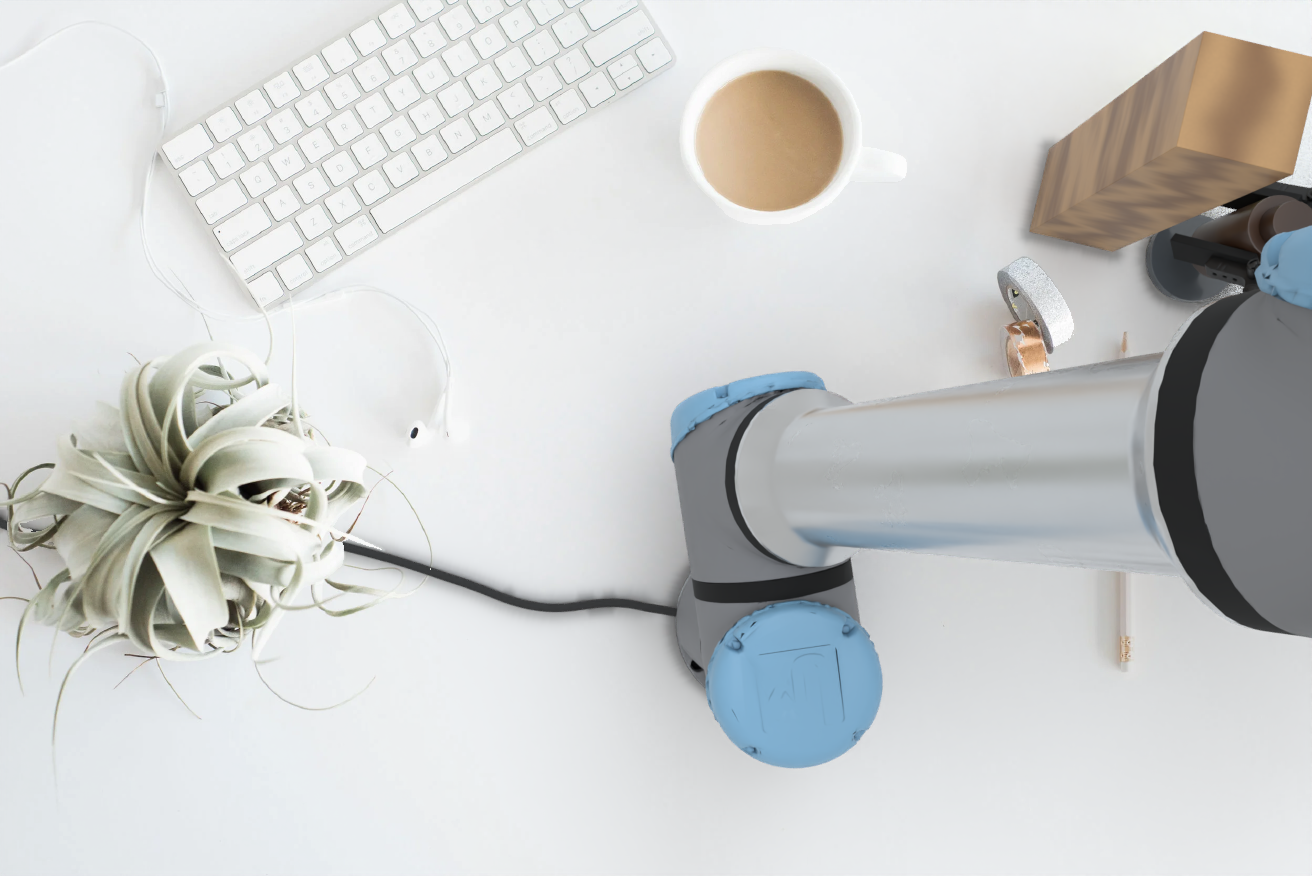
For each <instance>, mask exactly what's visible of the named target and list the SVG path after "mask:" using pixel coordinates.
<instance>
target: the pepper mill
mask: <svg viewBox="0 0 1312 876" xmlns="http://www.w3.org/2000/svg"><path fill="white" fill-rule="evenodd" d="M1213 219H1214V220H1211V221H1209V222H1207V223H1204V224H1203V225H1201V226H1200V227H1198V228H1197V229H1196V231H1195V232H1194V233H1193V235H1192V236H1191V237H1193V238H1197V239H1201V240H1205V241H1210V242H1214V243H1218V244H1222V245H1226V246H1230V247H1234V248H1238V249H1242V250H1246V251H1250V252H1254V253H1257V256H1258V261H1259V264H1261V253H1262V250H1263V247H1264V246H1265V244H1266V243H1267V242H1268V241H1269V240H1270V239H1271V238H1272V237H1273V236H1275V235H1277V234H1280V233H1283V232H1291V231H1295V230H1299V229H1302V228H1305V227H1308V226H1312V209H1311V208H1310V207H1309V206H1308V205H1307V204H1305V203H1303V202H1300V201H1298V200H1296V199H1294V198H1292V197H1289V196H1284V195H1275V196H1270V197H1267V198H1265V199H1262V200H1260V201H1258V202H1255V203H1253V204H1250V205H1248V206H1245V207H1243V208H1241V209H1238V210H1233V211H1230V212H1228V213H1226V214H1223V215H1221V216H1218V217H1217V218H1213ZM1192 265H1193V266H1194V268H1195V269H1196V270H1197V271H1198V272H1199V273H1201V274H1202V275H1204V276H1206V277H1209V276H1208V275H1207V274H1206V269H1205V267H1203V266H1199V265H1196V264H1192ZM1209 278H1211V277H1209ZM1213 279H1214V278H1213Z"/></svg>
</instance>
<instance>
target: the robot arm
mask: <svg viewBox="0 0 1312 876" xmlns="http://www.w3.org/2000/svg"><path fill="white" fill-rule="evenodd" d="M1275 195H1284V196H1289V197H1292V198H1294V199H1296V200H1298V201H1300V202H1303V203H1305V204H1307V205H1308V206H1309V207H1310V208H1311V209H1312V187H1308V186H1301V185H1296V184H1291V183H1286V182H1284V183H1283V182H1280V181H1277V182H1275V183H1272V184H1270V185H1268V186H1265V187H1263V188H1261V189H1258V190H1256V191H1254V192H1251V193H1249V194H1247V195H1244V196H1242V197H1240V198H1237V199H1235V200H1233V201H1230V202H1228V203H1226V204H1223V205H1221V206H1220V207H1221V208H1227V209H1231V210H1234V211H1236V210H1238V209H1241V208H1243V207H1245V206H1248V205H1250V204H1253V203H1255V202H1258V201H1260V200H1262V199H1265V198H1267V197H1270V196H1275ZM1170 242H1171V247H1172V251H1173V256H1174V259H1177V260H1181V261H1184V262H1188V263H1192V264H1196V265H1199V266H1203V267H1205V269H1206V274H1207V275H1208V276H1209V277H1211V278H1214V279H1217V280H1218V279H1219V280H1221V281H1225V282H1228V283H1229V284H1232V285H1236V286H1239V287H1242V290H1241V292H1240V293H1235V294H1229V295H1226V296H1223V297H1221V298H1217V299H1216V300H1214V301H1211V302H1209V303H1207V304H1206V305H1204V306H1202V307H1200V308H1199V309H1197V310H1196V311H1195V312H1194V313H1193V314H1191V315H1190V316H1189V317H1188V318H1187V319H1186V320H1185V321H1184V322H1183V323H1182V325H1181V326H1180V327H1179V329H1178V330H1177V331H1175V334H1174V335H1173V336H1172V338H1171V339H1170V341H1169V342H1168V345H1167V347H1166V348H1165V350H1164V351H1163V350H1162V351H1158V352H1153V353H1146V354H1141V355H1135V356H1129V357H1123V358H1118V359H1111V360H1105V361H1099V362H1094V363H1088V364H1083V365H1076V366H1071V367H1065V368H1059V369H1052V370H1047V371H1041V372H1034V373H1029V374H1024V375H1017V376H1012V377H1006V378H999V379H994V380H987V381H982V382H976V383H969V384H964V385H958V386H953V387H946V388H940V389H934V390H928V391H922V392H917V393H911V394H906V395H898V396H893V397H892V396H891V397H885V398H881V399H876V400H869V401H864V402H857V403H853V402H852V401H851V400H849V399H848V398H846V397H844V396H842V395H840V394H838V393H836V392H832V391H829V390H828V389H827V388H826V385H825V381H824V380H823V379H822V377H820V376H818V374H816V373H815V372H811V371H807V370H806V371H804V370H792V371H791V370H790V371H781V372H780V371H779V372H773V373H765V374H761V375H755V376H751V377H746V378H741V379H737V380H734V381H731V382H729V383H728V384H727V383H726V384H723V385H720V386H719V385H718V386H713V387H709V388H707V389H704V390H701V391H699V392H697V393H695V394H693V395H691V396H689V397H687V398H686V399H684V400H682V401H681V402H680V403H679V404H677V405H676V407H675V408H674V410H673V412H672V414H671V417H670V420H669V421H670V422H669V424H670V425H669V426H670V439H671V446H670V450H669V452H670V453H669V454H670V459H671V462H672V463H673V466H674V472H675V473H674V474H675V478H676V486H677V492H678V500H679V505H680V512H681V513H680V514H681V518H682V519H681V520H682V523H683V524H682V525H683V531H684V538H685V545H686V551H687V552H686V553H687V559H688V564H689V571H690V573H689V574H688V576H687V578H686V580H685V581H684V583H683V585H682V588H681V590H680V592H679V596H678V598H677V603H676V607H674V606H673V607H672V606H669V605H668V606H667V605H660V604H654V603H648V602H644V601H639V600H635V599H629V598H626V599H625V598H598V599H590V600H582V601H573V602H565V603H564V602H562V603H561V602H560V603H559V602H558V603H550V602H549V603H547V602H538V601H533V600H529V599H528V600H527V599H523V598H519V597H516V596H512V595H509V594H507V593H504V592H502V591H499V590H496V589H494V588H492V587H489V586H486V585H484V584H481V583H478V582H476V581H473V580H470V579H468V578H464V577H462V576H459V575H455V574H452V573H450V572H447V571H445V570H441V569H437V568H434V567H431V566H429V565H426V564H423V563H420V562H416V561H413V560H410V559H407V558H404V557H401V556H397V555H395V554H391V553H387V552H384V551H380V550H376V549H373V548H369V547H364V546H362V545H358V544H353V543H349V542H345V541H342V542H343V545H344V551H343V552H347V553H350V554H354V555H357V556H362V557H366V558H370V559H373V560H377V561H381V562H385V563H388V564H392V565H395V566H398V567H402V568H405V569H408V570H411V571H413V572H417V573H419V574H423V575H426V576H429V577H432V578H435V579H437V580H439V581H443V582H447V583H449V584H453V585H456V586H459V587H462V588H464V589H467V590H471V591H473V592H476V593H479V594H481V595H483V596H486V597H488V598H490V599H494V600H496V601H498V602H500V603H504V604H506V605H509V606H514V607H517V608H521V609H525V610H529V611H535V612H544V613H566V612H567V613H568V612H569V613H570V612H576V611H585V610H592V609H593V610H594V609H603V608H623V609H631V610H636V611H642V612H647V613H652V614H657V615H663V616H670V617H674V618H675V633H676V634H675V635H676V640H677V644H678V647H679V652H680V655H681V657H682V659H683V661H684V663H685V665H686V667H687V670H688V671H689V672H690V673H691V675H692V676H693V677H694V679H696V681H697V683H699V684H700V685H701V686H702V687H703V688H704V689H705V692H706V694H705V695H706V700H707V704H708V707H709V709H710V711H711V712H712V714H713V717H714V720H715V721H716V722H717V723H718V724H719V726H720V727H719V728H721V729H722V731H723V733H724V734H725V736H726V737H727V738H728V739H729V740H730V741H731V743H732V744H733V745H734V746H736V747H737V748H738V749H739V751H742V752H743V753H745V754H746V755H747V756H749V757H751V758H752V759H754V760H756V761H758V762H761V763H762V764H766V765H769V766H771V767H776V768H777V767H778V768H783V769H805V768H811V767H816V766H820V765H823V764H826V763H829V762H831V761H833V760H835V759H837V758H839V757H841V756H842V755H844V754H845V753H847V752H849V751H850V750H851V749H852V748H853V747H855V746H856V745H857V744H858V742H859V741H860V740H861V738H862V737H863V735H864V734H865V733H866V731H868V730H869V729H870V728H871V726H872V725H873V723H874V721H875V719H876V717H877V714H878V711H879V708H880V705H881V702H882V697H883V687H884V685H883V684H884V683H883V671H882V665H881V662H880V658H879V654H878V652H877V651H876V648H875V642H874V641H872V640H871V635H870V634H869V632H868V631H867V630H866V628H865V627H864V626H862V625H861V618H860V610H859V604H858V597H857V591H856V583H855V577H854V571H853V565H852V556H854V555H855V554H857V553H858V552H860V551H861V550H862V549H864V550H874V551H875V550H876V551H886V552H898V553H899V552H900V553H909V554H919V555H929V556H942V557H952V558H964V559H973V560H985V561H995V562H996V561H998V562H1006V563H1007V562H1009V563H1019V564H1020V563H1021V564H1030V565H1031V564H1032V565H1041V566H1052V567H1061V568H1063V567H1064V568H1075V569H1087V570H1096V571H1108V572H1118V573H1130V574H1140V575H1141V574H1143V575H1151V576H1152V575H1154V576H1162V577H1163V576H1164V577H1173V578H1175V577H1176V578H1181V579H1182V580H1183V582H1184V583H1185V584H1186V586H1187V587H1188V589H1189V591H1191V592H1192V593H1193V595H1195V597H1196V598H1197V599H1198V600H1199V601H1200V602H1201V603H1202V604H1203V605H1204V606H1205V607H1207V608H1208V609H1209V610H1210V611H1212V612H1213V613H1214V614H1216V615H1218V616H1219V617H1221V618H1222V619H1224V620H1225V621H1227V622H1229V623H1231V624H1234V625H1237V626H1240V627H1243V628H1246V629H1248V630H1249V629H1250V630H1256V631H1261V632H1268V633H1274V634H1281V635H1287V636H1288V635H1289V636H1295V637H1303V638H1309V639H1312V226H1308V227H1305V228H1302V229H1299V230H1295V231H1291V232H1283V233H1280V234H1277V235H1275V236H1273V237H1272V238H1271V239H1270V240H1269V241H1268V242H1267V243H1266V244H1265V246H1264V247H1263V250H1262V253H1261V264H1259V261H1258V256H1257V253H1254V252H1250V251H1246V250H1242V249H1238V248H1234V247H1230V246H1226V245H1222V244H1218V243H1214V242H1210V241H1205V240H1201V239H1197V238H1193V237H1189V236H1185V235H1181V234H1177V233H1175V234H1174V236H1173V237H1172V238H1171V239H1170ZM7 521H8V520H6V519H4V518H2V517H0V529H2V530H4V531H7ZM29 528H30V527H29ZM30 529H32V530H33V531H31V532H36V531H40V529H36V528H35V529H34V528H30ZM430 568H431V570H430Z"/></svg>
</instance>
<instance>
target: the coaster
mask: <svg viewBox="0 0 1312 876" xmlns="http://www.w3.org/2000/svg"><path fill="white" fill-rule="evenodd" d="M1214 219H1215V218H1212V217H1210V216H1206V215H1203V214H1200V215H1198V216H1195V217H1193V218H1191V219H1188V220H1186V221H1184V222H1181V223H1179V224H1177V225H1174V226H1172V227H1170V228H1167V229H1165V230H1163V231H1160V232H1158V233H1156V234H1153V235H1152V236H1151V238H1150V240H1149V242H1148V245H1147V248H1146V253H1145V254H1146V255H1145V267H1146V271H1147V274H1148V276H1149V279H1150V280H1151V282H1152V284H1153V285H1154V287H1155V288H1156V289H1157V290H1158V291H1159V292H1161V293H1162V294H1163V295H1164V296H1165V297H1168V298H1169V299H1171V300H1174V301H1177V302H1180V303H1181V302H1182V303H1198V302H1202V301H1205V300H1208V299H1211V298H1214V297H1215V296H1218V295H1219V294H1220V293H1221V292H1223V291H1224V290H1225V289H1226V288H1227V286H1228V285H1229V284H1230V283H1228V282H1225V281H1221V280H1219V279H1218V280H1217V279H1213V278H1209V277H1206V276H1204V275H1202V274H1201V273H1199V272H1198V271H1197V270H1196V269H1195V268H1194V266H1193V265H1192V263H1188V262H1184V261H1181V260H1177V259H1174V256H1173V251H1172V247H1171V242H1170V239H1171V238H1172V237H1173V236H1174V234H1175V233H1177V234H1181V235H1185V236H1189V237H1191V236H1192V235H1193V233H1194V232H1195V231H1196V229H1197V228H1198V227H1200V226H1201V225H1203V224H1204V223H1207V222H1209V221H1211V220H1214Z"/></svg>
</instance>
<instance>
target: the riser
mask: <svg viewBox="0 0 1312 876" xmlns="http://www.w3.org/2000/svg"><path fill="white" fill-rule="evenodd" d="M1311 102H1312V56H1311V55H1306V54H1303V53H1298V52H1294V51H1290V50H1287V49H1281V48H1278V47H1274V46H1270V45H1264V44H1261V43H1258V42H1254V41H1253V42H1252V41H1248V40H1244V39H1241V38H1236V37H1231V36H1227V35H1224V34H1220V33H1216V32H1211V31H1206V30H1203V31H1202V32H1200V33H1199V34H1198V35H1197V36H1196V37H1194V38H1192V39H1191V40H1190V41H1189V42H1187V43H1186V44H1185V45H1183V46H1182V47H1181V48H1180V49H1178V50H1176V52H1174V53H1172V55H1170V56H1169V57H1168V58H1166V59H1165V60H1163V61H1162V62H1161V63H1160V64H1159V65H1157V66H1156V67H1155V68H1153V69H1151V71H1149V72H1148V73H1146V74H1145V75H1144V76H1143V77H1142V78H1140V79H1139V80H1138V81H1136V82H1135V83H1134V84H1132V85H1131V86H1130V87H1128V88H1127V89H1126V90H1124V91H1123V92H1122V93H1121V94H1119V95H1118V96H1117V97H1115V98H1113V99H1112V100H1111V101H1110V102H1109V103H1107V104H1106V105H1104V106H1103V107H1102V108H1100V109H1099V110H1098V111H1097V112H1095V113H1094V114H1093V115H1092V116H1090V117H1089V118H1087V120H1085V121H1084V122H1082V123H1081V124H1080V125H1078V126H1077V127H1075V128H1074V129H1073V130H1072V131H1071V132H1069V133H1067V135H1065V136H1064V137H1062V138H1061V139H1060V140H1059V141H1057V142H1056V143H1055V144H1053V145H1052V146H1051V147H1050V148H1048V152H1047V156H1046V161H1045V165H1044V168H1043V173H1042V177H1041V182H1040V185H1039V188H1038V189H1039V190H1038V194H1037V198H1036V203H1035V207H1034V211H1033V214H1032V218H1031V223H1030V227H1029V232H1030V233H1033V234H1037V235H1040V236H1041V235H1042V236H1045V237H1050V238H1053V239H1057V240H1061V241H1067V242H1070V243H1074V244H1078V245H1083V246H1086V247H1091V248H1095V249H1099V250H1104V251H1107V252H1111V253H1114V252H1116V251H1118V250H1121V249H1123V248H1125V247H1128V246H1130V245H1132V244H1134V243H1137V242H1139V241H1143V240H1144V239H1146V238H1148V237H1152V236H1153V235H1154V234H1156V233H1158V232H1160V231H1163V230H1165V229H1167V228H1170V227H1172V226H1174V225H1177V224H1179V223H1181V222H1184V221H1186V220H1188V219H1191V218H1193V217H1195V216H1198V215H1203V214H1204V213H1207V212H1209V211H1211V210H1214V209H1216V208H1219V207H1221V205H1223V204H1226V203H1228V202H1230V201H1233V200H1235V199H1237V198H1240V197H1242V196H1244V195H1247V194H1249V193H1251V192H1254V191H1256V190H1258V189H1261V188H1263V187H1265V186H1268V185H1270V184H1272V183H1275V182H1280V181H1281V180H1284V179H1286V178H1289V177H1291V176H1293V175H1294V173H1295V169H1296V164H1297V160H1298V157H1299V151H1300V149H1301V148H1300V147H1301V143H1302V140H1303V136H1304V131H1305V126H1306V122H1307V118H1308V114H1309V111H1310V106H1311Z"/></svg>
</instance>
